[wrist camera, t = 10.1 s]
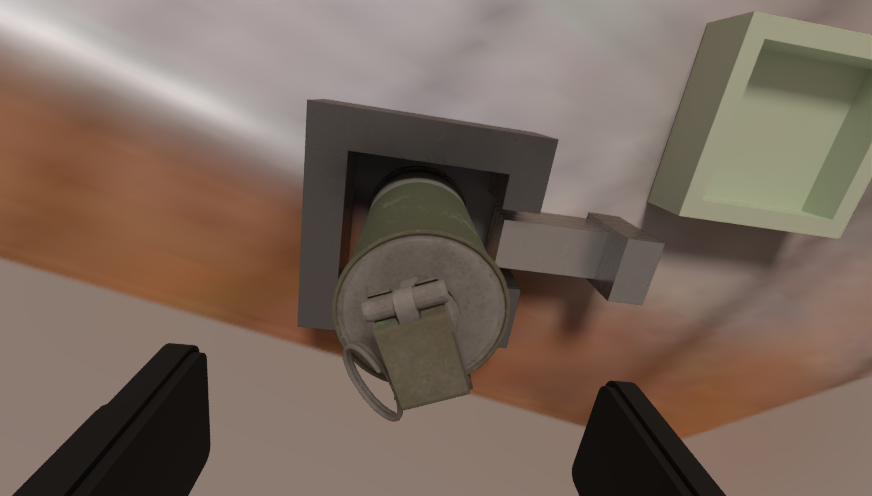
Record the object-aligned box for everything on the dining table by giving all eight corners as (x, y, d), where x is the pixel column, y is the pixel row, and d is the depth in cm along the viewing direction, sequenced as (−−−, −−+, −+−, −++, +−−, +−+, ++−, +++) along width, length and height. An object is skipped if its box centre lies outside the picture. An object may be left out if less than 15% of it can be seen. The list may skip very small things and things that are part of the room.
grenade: (354, 181, 24) (272, 301, 10) (453, 154, 24) (511, 237, 10) (386, 275, 26) (356, 482, 12) (477, 251, 26) (552, 434, 12)
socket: (535, 132, 24) (558, 139, 20) (493, 313, 28) (506, 348, 24) (324, 99, 22) (307, 99, 19) (313, 293, 26) (297, 326, 23)
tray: (870, 54, 23) (938, 48, 20) (791, 222, 26) (839, 238, 23) (708, 22, 22) (754, 11, 19) (647, 201, 25) (678, 215, 22)
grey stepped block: (618, 216, 26) (665, 243, 21) (602, 269, 27) (642, 305, 22) (495, 199, 25) (514, 223, 20) (484, 253, 26) (499, 288, 21)
